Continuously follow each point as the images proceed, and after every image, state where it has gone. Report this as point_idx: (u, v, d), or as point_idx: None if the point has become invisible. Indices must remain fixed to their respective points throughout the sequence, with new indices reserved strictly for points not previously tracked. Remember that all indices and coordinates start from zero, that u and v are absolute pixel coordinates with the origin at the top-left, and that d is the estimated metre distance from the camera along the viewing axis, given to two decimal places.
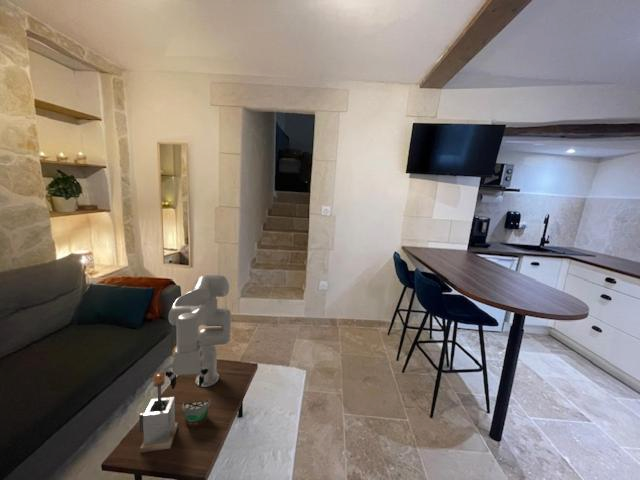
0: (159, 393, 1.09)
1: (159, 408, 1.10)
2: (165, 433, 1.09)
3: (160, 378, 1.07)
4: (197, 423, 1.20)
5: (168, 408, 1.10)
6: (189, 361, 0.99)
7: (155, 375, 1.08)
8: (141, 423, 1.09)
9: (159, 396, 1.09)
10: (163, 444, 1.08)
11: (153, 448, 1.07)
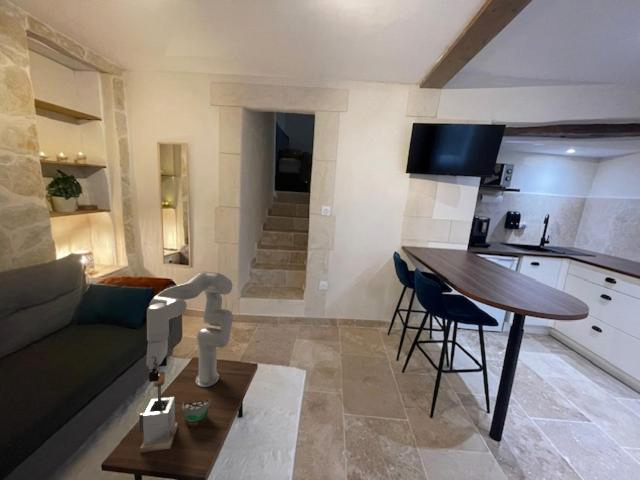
0: (159, 393, 1.09)
1: (159, 408, 1.10)
2: (165, 433, 1.09)
3: (160, 378, 1.07)
4: (197, 423, 1.20)
5: (168, 408, 1.10)
6: (165, 344, 1.08)
7: None
8: (141, 423, 1.09)
9: (159, 396, 1.09)
10: (163, 444, 1.08)
11: (153, 448, 1.07)
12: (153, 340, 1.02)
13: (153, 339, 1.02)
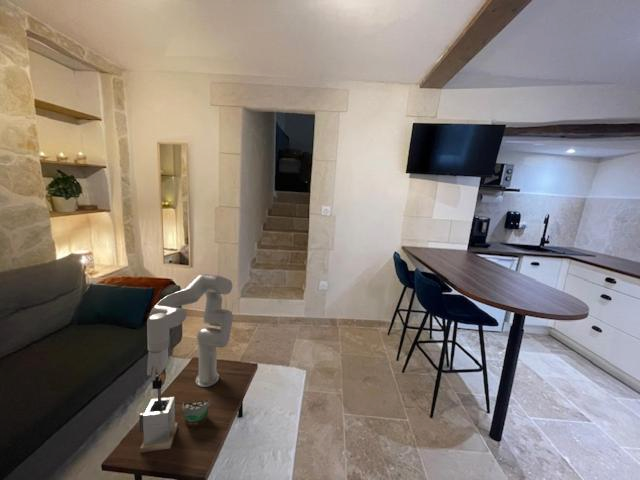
0: (159, 393, 1.09)
1: (159, 408, 1.10)
2: (165, 433, 1.09)
3: None
4: (197, 423, 1.20)
5: (168, 408, 1.10)
6: (166, 353, 1.09)
7: None
8: (141, 423, 1.09)
9: (159, 396, 1.09)
10: (163, 444, 1.08)
11: (153, 448, 1.07)
12: (154, 350, 1.03)
13: (154, 349, 1.03)
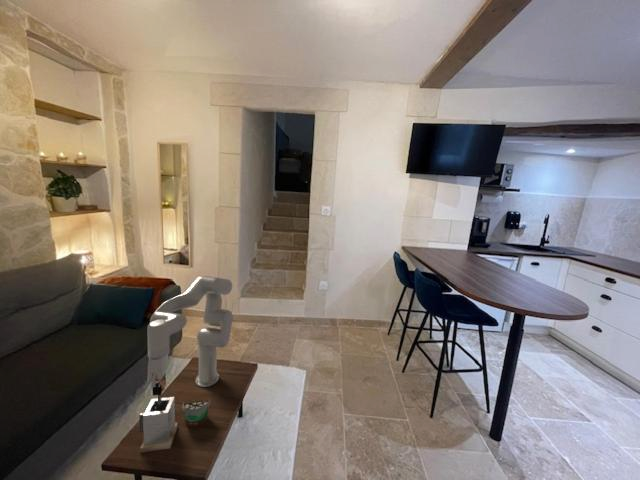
0: (159, 399, 1.10)
1: None
2: (165, 433, 1.09)
3: None
4: (197, 423, 1.20)
5: (168, 408, 1.10)
6: (166, 359, 1.09)
7: None
8: (141, 423, 1.09)
9: (159, 402, 1.10)
10: (163, 444, 1.08)
11: (153, 448, 1.07)
12: (154, 357, 1.03)
13: (154, 356, 1.03)
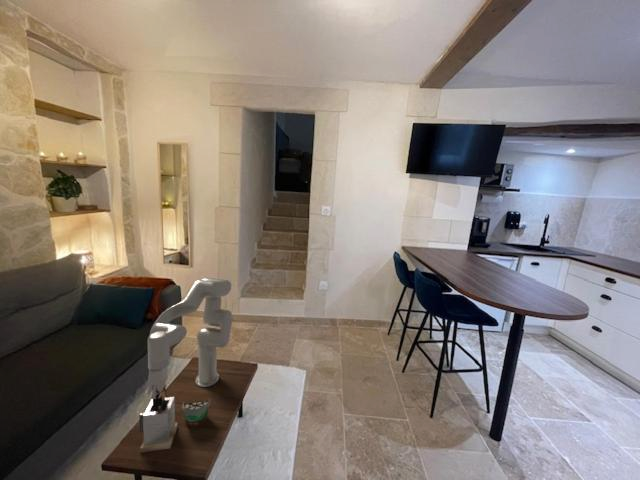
0: (159, 410, 1.10)
1: None
2: (165, 433, 1.09)
3: None
4: (197, 423, 1.20)
5: (168, 408, 1.10)
6: (166, 371, 1.10)
7: None
8: (141, 423, 1.09)
9: None
10: (163, 444, 1.08)
11: (153, 448, 1.07)
12: (154, 368, 1.04)
13: (154, 367, 1.04)
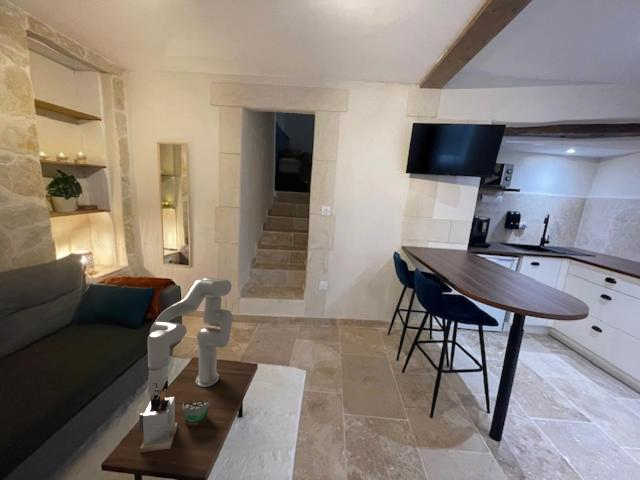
0: (159, 410, 1.10)
1: None
2: (165, 433, 1.09)
3: (160, 396, 1.08)
4: (197, 423, 1.20)
5: (168, 408, 1.10)
6: (166, 369, 1.10)
7: (155, 393, 1.09)
8: (141, 423, 1.09)
9: None
10: (163, 444, 1.08)
11: (153, 448, 1.07)
12: (154, 367, 1.04)
13: (154, 366, 1.04)
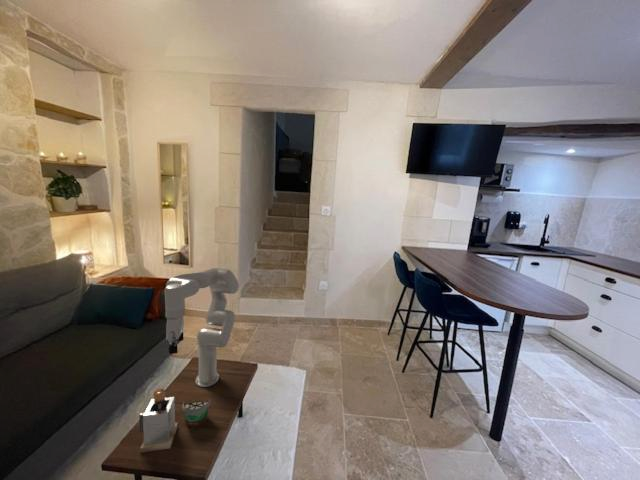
0: (159, 410, 1.10)
1: None
2: (165, 433, 1.09)
3: (160, 396, 1.08)
4: (197, 423, 1.20)
5: (168, 408, 1.10)
6: (182, 321, 1.18)
7: (155, 393, 1.09)
8: (141, 423, 1.09)
9: None
10: (163, 444, 1.08)
11: (153, 448, 1.07)
12: (171, 317, 1.12)
13: (171, 316, 1.12)
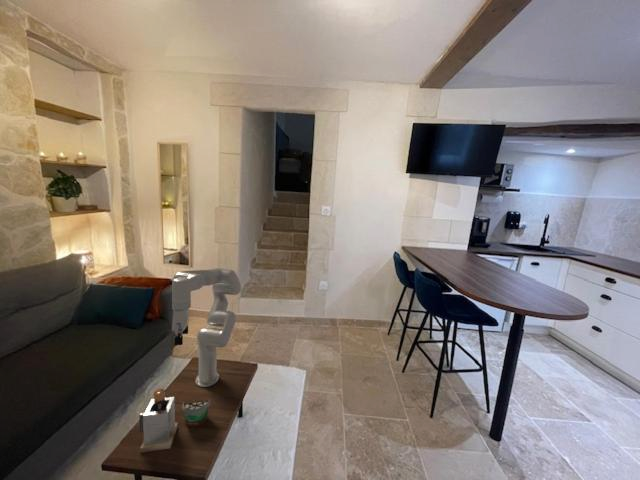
0: (159, 410, 1.10)
1: None
2: (165, 433, 1.09)
3: (160, 396, 1.08)
4: (197, 423, 1.20)
5: (168, 408, 1.10)
6: (188, 313, 1.22)
7: (155, 393, 1.09)
8: (141, 423, 1.09)
9: None
10: (163, 444, 1.08)
11: (153, 448, 1.07)
12: (178, 309, 1.16)
13: (178, 308, 1.16)
